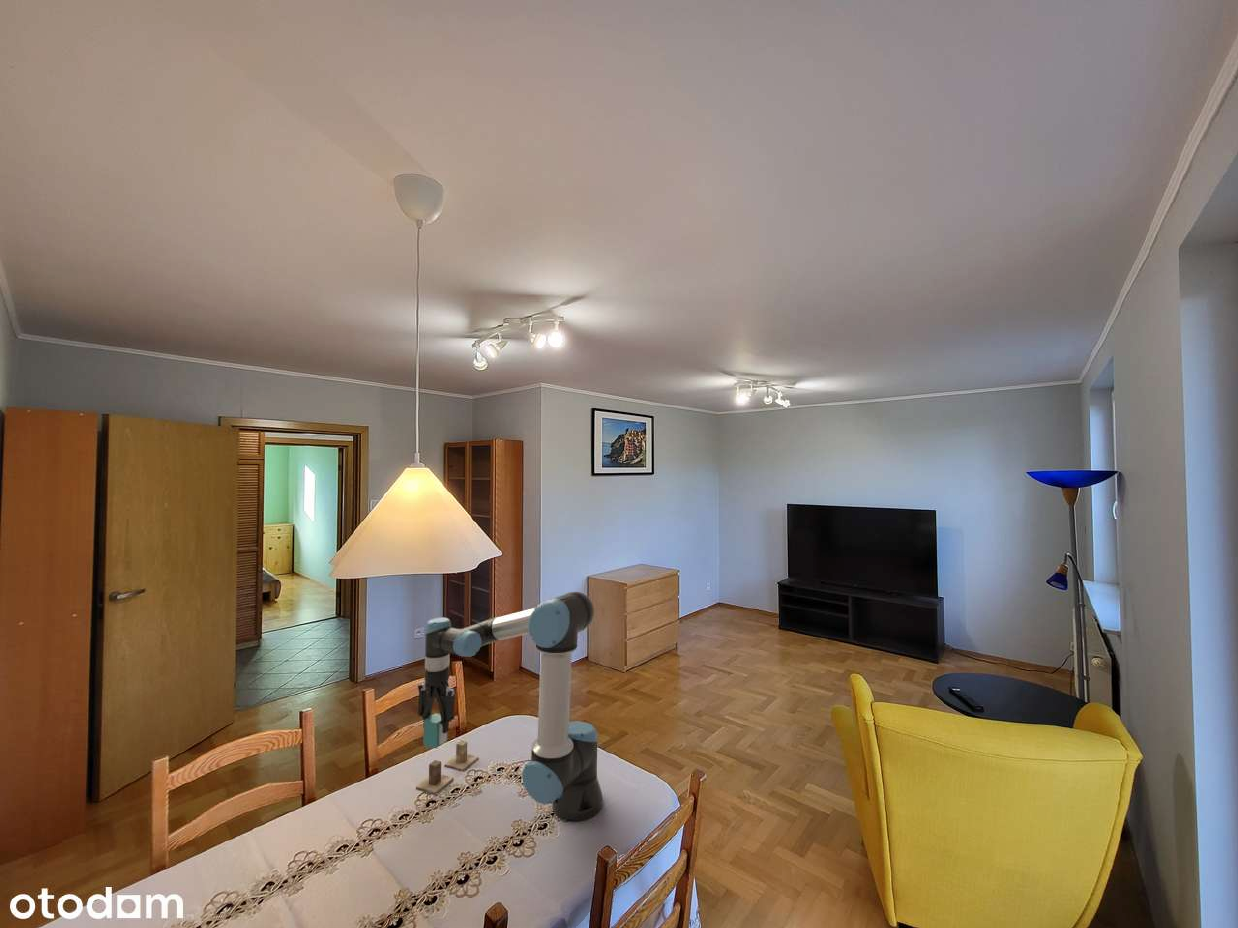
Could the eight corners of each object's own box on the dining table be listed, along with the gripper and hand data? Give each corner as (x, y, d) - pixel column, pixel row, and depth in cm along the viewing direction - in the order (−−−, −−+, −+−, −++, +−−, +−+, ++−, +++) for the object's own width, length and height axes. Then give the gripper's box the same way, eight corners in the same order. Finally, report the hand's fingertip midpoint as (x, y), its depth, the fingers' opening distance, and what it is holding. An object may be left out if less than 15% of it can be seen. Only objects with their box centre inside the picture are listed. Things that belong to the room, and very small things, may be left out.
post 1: (453, 779, 157) (453, 758, 157) (435, 794, 149) (436, 772, 149) (433, 774, 159) (434, 753, 160) (415, 788, 152) (416, 766, 152)
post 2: (478, 758, 169) (478, 739, 169) (463, 770, 161) (463, 750, 161) (459, 753, 172) (460, 734, 172) (444, 765, 164) (444, 746, 164)
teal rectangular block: (447, 740, 156) (448, 715, 157) (436, 748, 152) (436, 723, 152) (434, 737, 158) (435, 712, 159) (423, 745, 153) (423, 720, 154)
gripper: (467, 667, 156) (466, 740, 155) (423, 659, 163) (421, 729, 162) (452, 675, 149) (450, 752, 148) (406, 667, 156) (404, 740, 155)
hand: (435, 740), depth 155 cm, fingers closed on teal rectangular block, 5 cm apart
